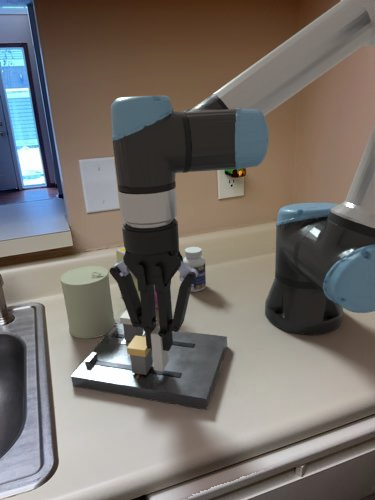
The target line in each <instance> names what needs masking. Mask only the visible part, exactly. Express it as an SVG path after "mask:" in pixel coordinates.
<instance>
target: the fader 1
mask: <svg viewBox="0 0 375 500" xmlns="http://www.w3.org/2000/svg"><path fill="white" fill-rule="evenodd" d="M119 322H120V323H119V324H123V328H124V336H125V340H127V341H132V340H133V338H134V337H135V336H142V334H143V328H141V327H139V326H138V327H134V326H133V325H132V323H131V320H130V317H129V314H128V312H127V309H126V310H125V311H124V312H123V313H122V314H121V316H120V317H119Z"/></svg>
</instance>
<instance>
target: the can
mask: <svg viewBox="0 0 375 500" xmlns="http://www.w3.org/2000/svg"><path fill="white" fill-rule="evenodd" d="M109 274H110V271H109V270H108V269H107V268H106V267H104V266H100V265H82V266H77V267H73V268H72V269H69V270H67V271H65V272H64V273H63V274H61V275H60V279H59V280H60V281H59V282H60V283H61V290H62V294H63V299H64V303H65V310H66V315H67V321H68V322H67V323H68V332H69V334H70V335H71V336H73V337H74V338H77V339H82V340H84V339H85V340H86V339H87V340H90V339H95V338H99V337H101V336H104V335H106V334H107V333H108V332H109V331H110V330H111V328H112V327H113V326H114V325H115V324H116V319H115V316H114V310H113V304H112V295H111V287H110V286H111V284H110V280H109V279H110V278H109V277H110V276H109Z"/></svg>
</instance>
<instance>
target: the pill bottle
mask: <svg viewBox="0 0 375 500" xmlns="http://www.w3.org/2000/svg"><path fill="white" fill-rule="evenodd" d="M202 250H203V249H202V248H201V247H199V246H189V247H186V248H185V249H184V256H185V257H184V258H183V262H184V263H185V264H187V265H188V266H190V267H191V268H192V267H197V268H198V269H199V273H198V275H197V276H196V278H195V280H194V281H193V283H192V286H191V291H190V292H192V293H194V292H195V293H197V292H201V291H203V290H204V289H206V286H207V282H206V280H207V279H206V278H207V277H206V274H207V273H206V259H205V257H203V251H202Z"/></svg>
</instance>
